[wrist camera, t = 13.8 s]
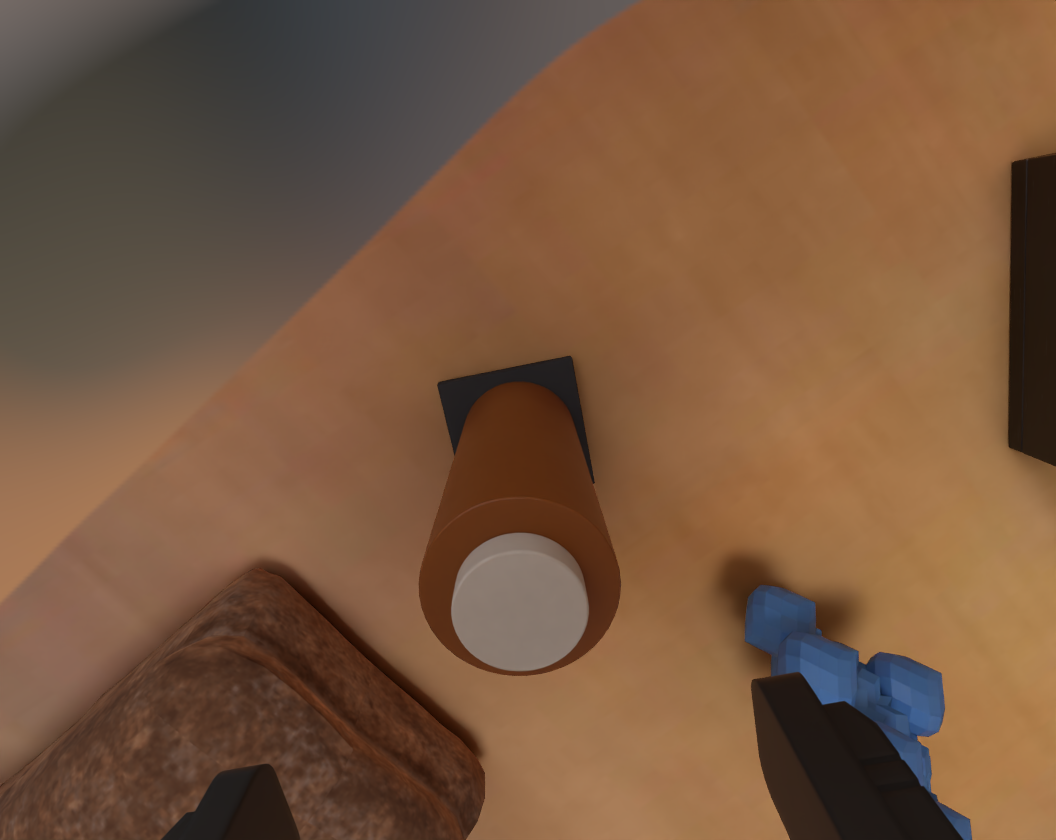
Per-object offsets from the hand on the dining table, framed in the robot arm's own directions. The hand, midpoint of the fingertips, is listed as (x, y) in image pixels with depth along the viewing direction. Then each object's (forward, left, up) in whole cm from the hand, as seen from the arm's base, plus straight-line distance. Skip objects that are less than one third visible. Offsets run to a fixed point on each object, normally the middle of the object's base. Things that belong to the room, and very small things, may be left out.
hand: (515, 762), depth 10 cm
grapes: (+13, +12, -19) cm, 26 cm away
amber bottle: (0, 0, -18) cm, 18 cm away
